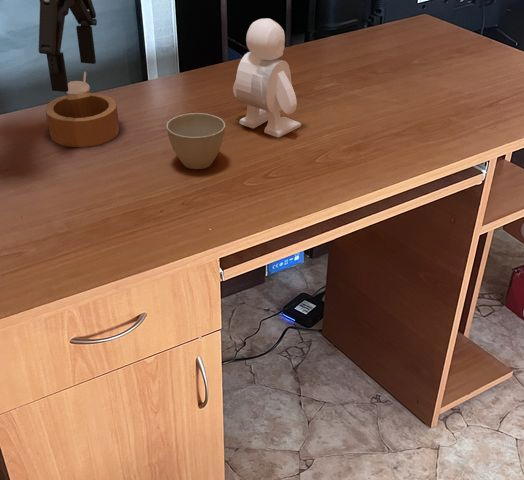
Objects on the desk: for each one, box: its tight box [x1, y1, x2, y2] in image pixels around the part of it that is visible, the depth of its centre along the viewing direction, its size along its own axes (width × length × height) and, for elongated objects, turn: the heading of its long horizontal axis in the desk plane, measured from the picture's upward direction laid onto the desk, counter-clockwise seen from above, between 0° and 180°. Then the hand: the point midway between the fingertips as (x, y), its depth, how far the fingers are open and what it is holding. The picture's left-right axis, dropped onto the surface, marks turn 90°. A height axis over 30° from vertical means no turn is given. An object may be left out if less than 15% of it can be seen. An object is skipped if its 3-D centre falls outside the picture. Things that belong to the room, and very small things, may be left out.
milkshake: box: [64, 71, 91, 118], centre depth 145 cm, size 4×5×10 cm
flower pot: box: [165, 112, 226, 170], centre depth 136 cm, size 10×10×7 cm
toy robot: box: [232, 18, 302, 138], centre depth 143 cm, size 14×9×20 cm, turn 51°
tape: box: [44, 92, 120, 148], centre depth 146 cm, size 13×13×5 cm
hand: (74, 76), depth 141 cm, fingers open, 13 cm apart
